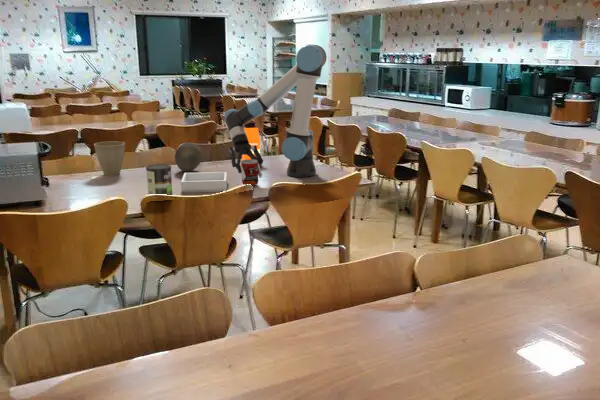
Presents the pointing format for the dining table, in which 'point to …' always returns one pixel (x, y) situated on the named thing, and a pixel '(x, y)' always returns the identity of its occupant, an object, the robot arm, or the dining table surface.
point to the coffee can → (159, 179)
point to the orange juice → (252, 140)
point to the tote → (204, 182)
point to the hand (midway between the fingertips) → (252, 177)
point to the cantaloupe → (188, 157)
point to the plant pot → (110, 156)
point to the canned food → (250, 171)
